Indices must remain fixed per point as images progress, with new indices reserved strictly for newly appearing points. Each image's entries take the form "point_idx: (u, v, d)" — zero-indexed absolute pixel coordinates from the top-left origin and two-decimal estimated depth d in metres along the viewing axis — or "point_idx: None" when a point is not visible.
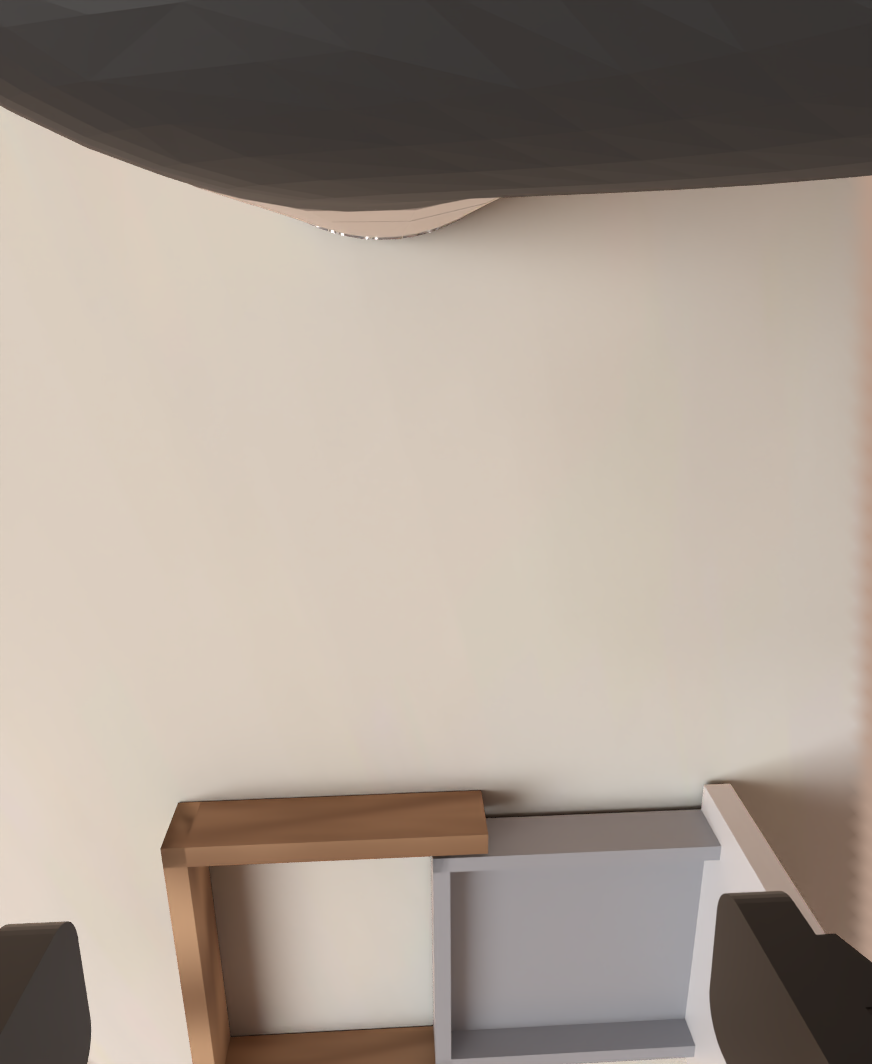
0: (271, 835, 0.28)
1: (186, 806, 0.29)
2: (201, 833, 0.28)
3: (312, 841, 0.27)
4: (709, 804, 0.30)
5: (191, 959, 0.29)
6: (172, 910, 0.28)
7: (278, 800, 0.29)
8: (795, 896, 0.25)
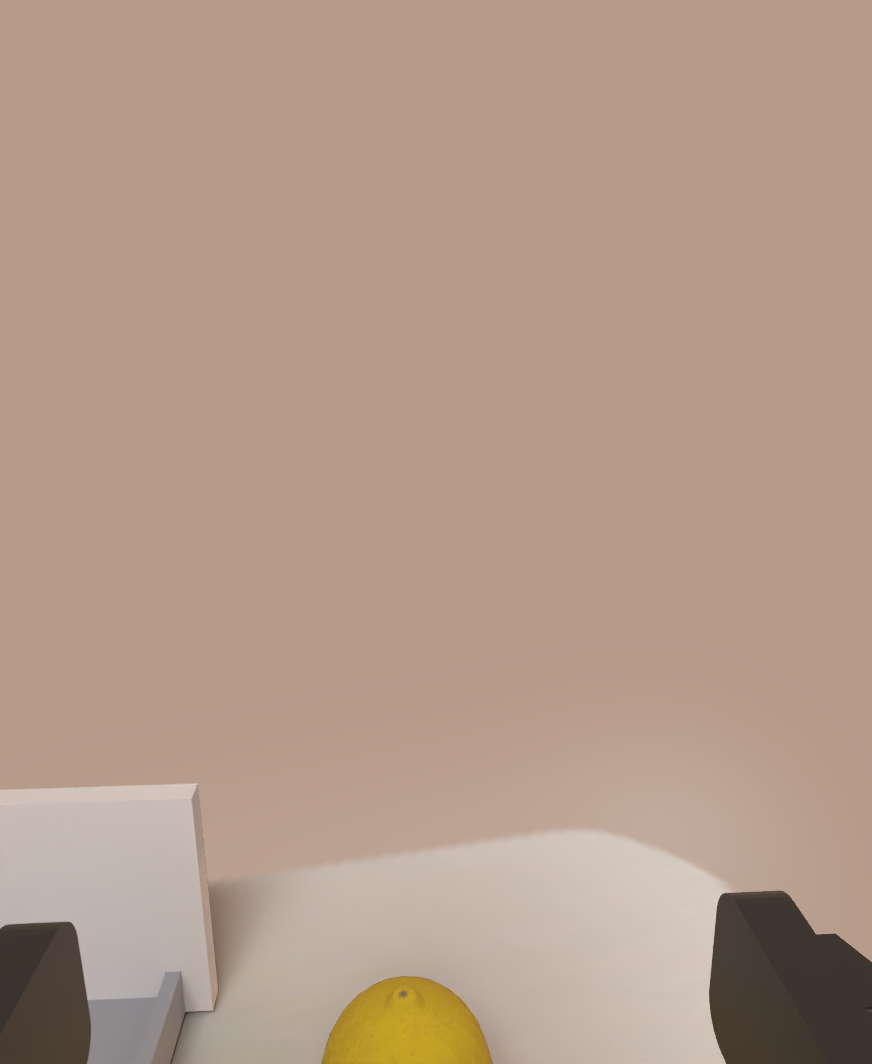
0: None
1: None
2: None
3: None
4: None
5: None
6: None
7: None
8: None
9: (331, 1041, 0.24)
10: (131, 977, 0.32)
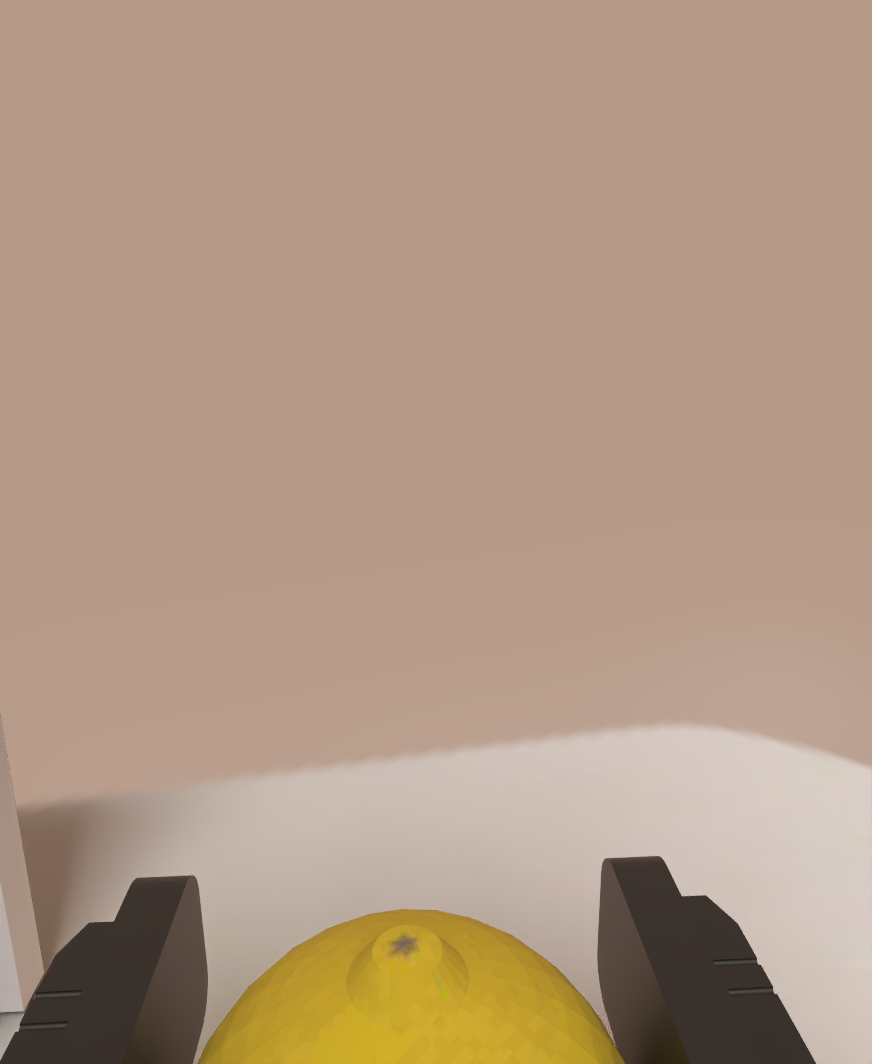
0: None
1: None
2: None
3: None
4: None
5: None
6: None
7: None
8: None
9: None
10: None
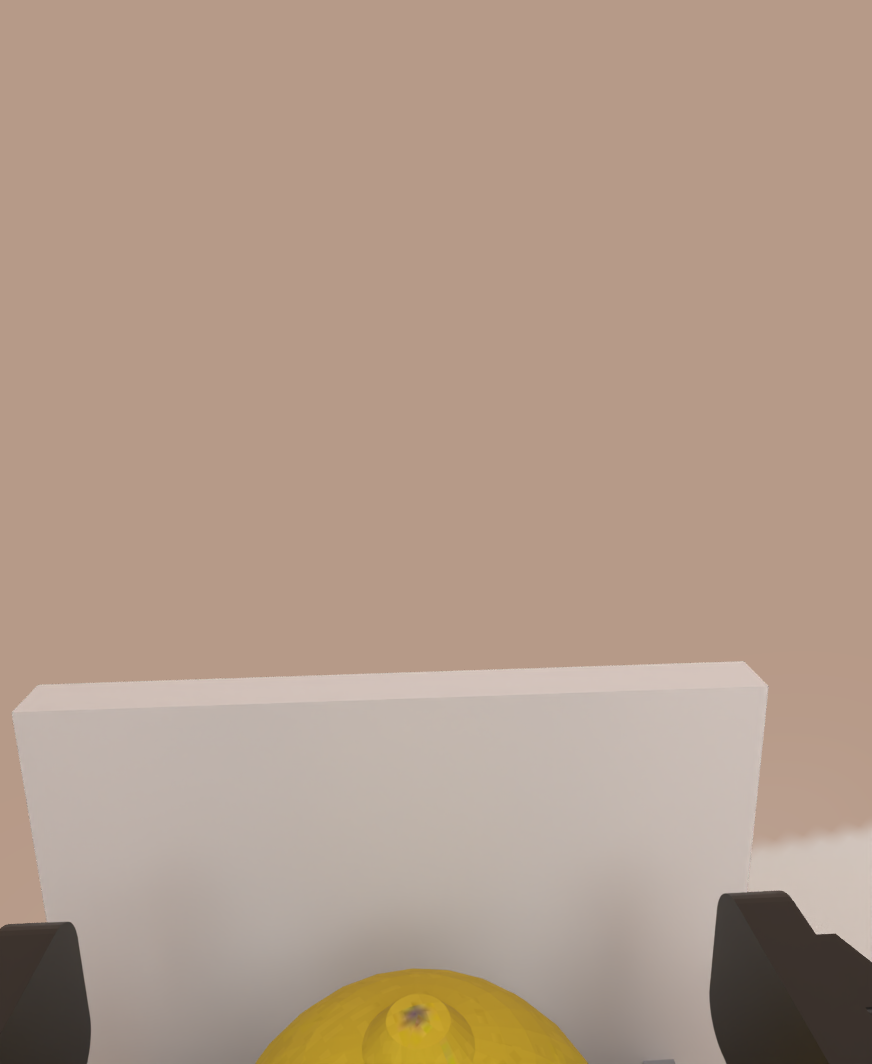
0: None
1: None
2: None
3: None
4: None
5: None
6: None
7: None
8: None
9: None
10: None
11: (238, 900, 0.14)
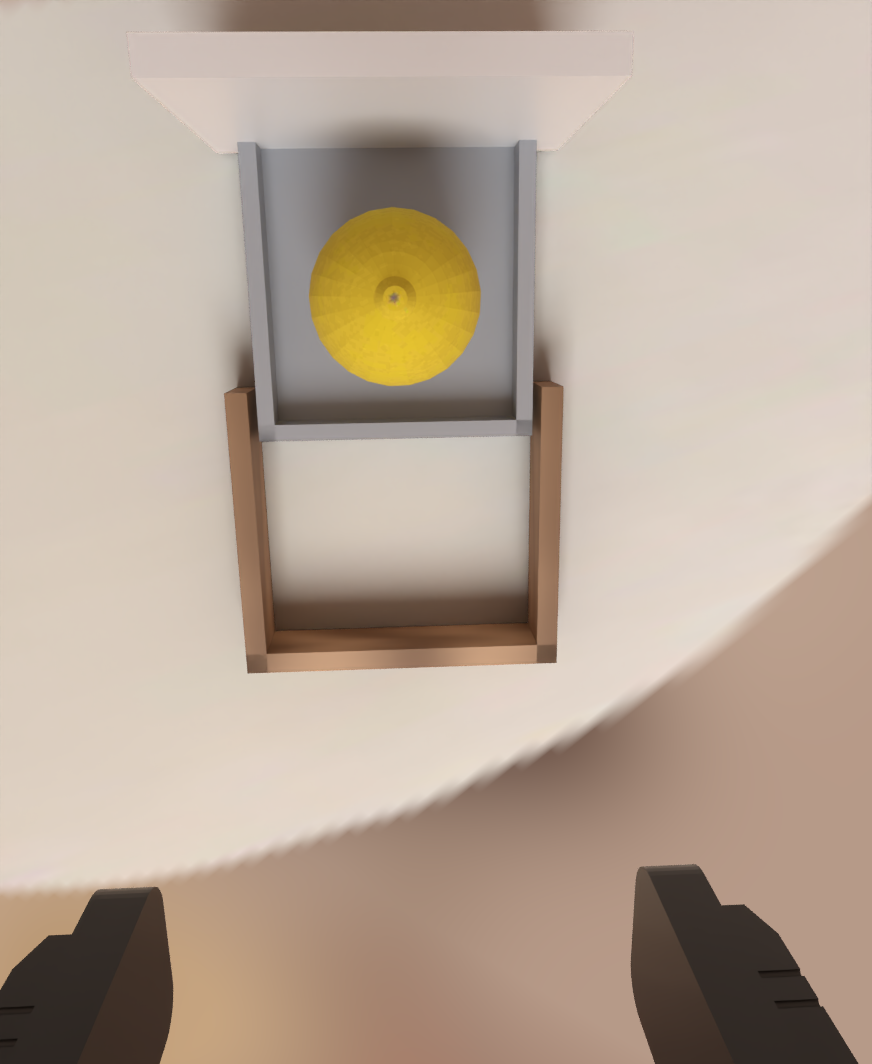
0: None
1: None
2: None
3: (239, 550, 0.31)
4: (224, 149, 0.29)
5: (369, 657, 0.32)
6: (313, 668, 0.32)
7: None
8: None
9: (320, 297, 0.24)
10: (479, 141, 0.28)
11: (287, 113, 0.24)
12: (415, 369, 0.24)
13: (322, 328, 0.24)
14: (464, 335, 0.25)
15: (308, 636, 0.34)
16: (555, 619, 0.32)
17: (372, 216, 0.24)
